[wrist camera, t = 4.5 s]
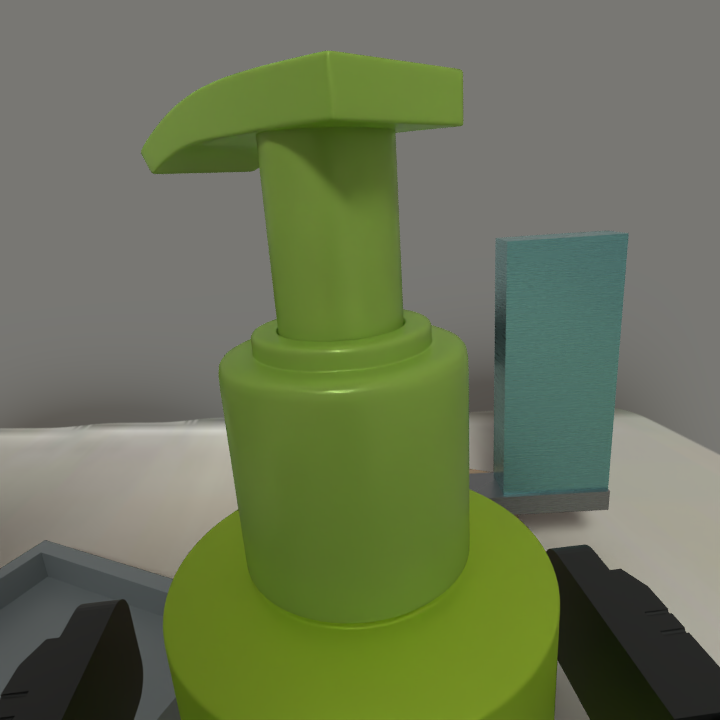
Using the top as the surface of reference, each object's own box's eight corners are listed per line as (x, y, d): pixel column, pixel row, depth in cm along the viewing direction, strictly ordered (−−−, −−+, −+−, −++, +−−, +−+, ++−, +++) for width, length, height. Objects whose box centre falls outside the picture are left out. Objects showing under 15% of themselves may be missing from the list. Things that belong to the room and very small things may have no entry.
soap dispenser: (377, 807, 17) (323, 126, 11) (586, 1063, 12) (694, 34, 6) (203, 980, 13) (-12, 114, 7) (391, 1458, 8) (166, -145, 2)
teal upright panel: (339, 535, 25) (313, 256, 21) (342, 491, 29) (321, 247, 25) (615, 521, 25) (640, 235, 21) (581, 477, 29) (597, 229, 25)
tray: (-280, 807, 18) (-307, 763, 18) (54, 572, 29) (45, 539, 28) (-46, 1043, 13) (-72, 990, 12) (260, 642, 23) (254, 604, 23)
